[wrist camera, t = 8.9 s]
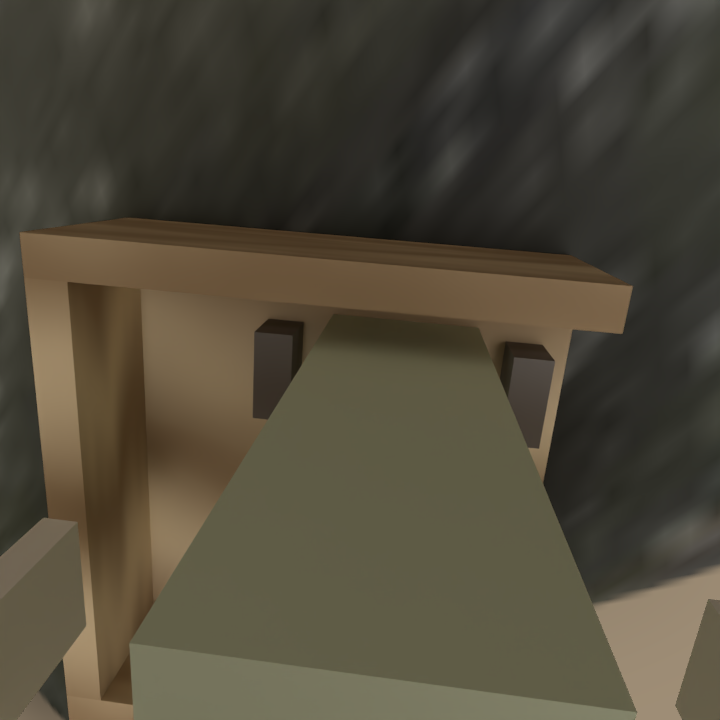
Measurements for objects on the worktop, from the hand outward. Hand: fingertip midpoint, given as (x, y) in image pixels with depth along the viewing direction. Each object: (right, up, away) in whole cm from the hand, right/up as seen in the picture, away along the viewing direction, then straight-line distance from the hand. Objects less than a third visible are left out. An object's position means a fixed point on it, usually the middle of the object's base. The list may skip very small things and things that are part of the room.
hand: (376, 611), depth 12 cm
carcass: (-1, +2, +7) cm, 7 cm away
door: (0, +2, +5) cm, 6 cm away
